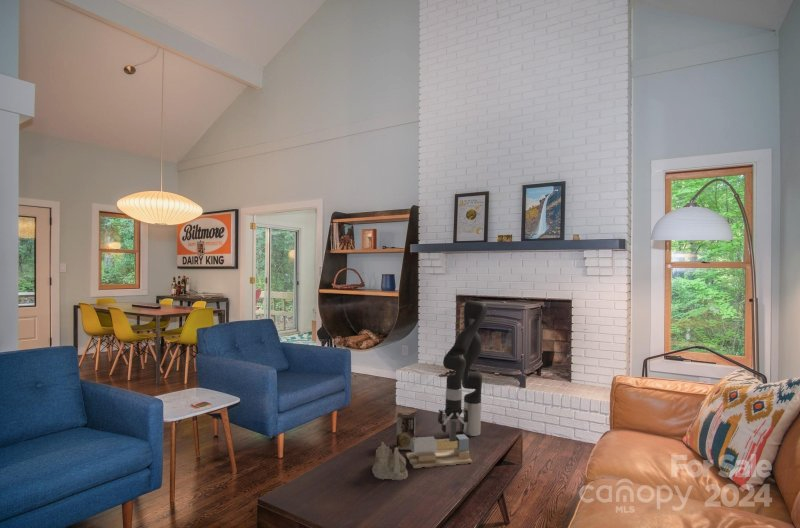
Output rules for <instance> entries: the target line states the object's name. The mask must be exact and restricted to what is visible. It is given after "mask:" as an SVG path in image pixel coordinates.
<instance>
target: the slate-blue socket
mask: <svg viewBox="0 0 800 528" xmlns="http://www.w3.org/2000/svg"><path fill="white" fill-rule="evenodd" d="M456 438H457V439H458V440H459V448H453V449H454V453H455V454H456V455H457V456H458V457H459V459H465V458H470V457H471V456H470V454H471V453H470V451H469V450H470V439H469V437H468V435H466V434H464V433H462V434H456ZM470 459H471V458H470Z"/></svg>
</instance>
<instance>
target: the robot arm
mask: <svg viewBox="0 0 800 528" xmlns="http://www.w3.org/2000/svg"><path fill="white" fill-rule="evenodd" d="M487 313H488V305H487V304H486V303H484V302H481V301H475V300H472V299H471V300H469V299H468V300H466V302H465V303H464V308H463V321H464V324H463V325H464V327H463V328H464V329H463V330H462V331H461V332H460V333H459V334H458V335H457V337H456V339H455V342H454V344H453V345H452V347H451V348H450V349H449V351H448V352H446V354H445V355H444V357H443V359H442V360H443V362H442V363H443V367H444V368H445V369H447V370H452V371H455V373H453V374H448V375H447V376H446V387H445V388H446V389H445V408H444V410H442V409H439V410H438V415H437V422H438V423H439V424H440V425H441V431H442V432H443V433H444V434H446V432H447V431H446V428H447V425H446V424H447V423H448V422H450V420H459V421H460V422H459V431H460V432H463V433H462V434H465V435H466V436H469V437H477V436H480V435H481V427H482V426H481V423H482V420H481V419H482V388H483V387H482V386H483V375H482V372H481V371H470V369H471V367H472V365H473V364H474V363H475V362H476V361H477V359H478V358H479V357H480V356H481V353H482V339H481V336H480V335H479V333H478V331H479V328H480V327H481V325H482V324H483V322H484V321H485V319H486V316H487ZM463 388H464V389H465V390H466V389H467V390H474V391H472V392H470V393H466V394H465V395H464V396H463V395H462V394H463V392H462V389H463ZM462 398H463V399H462ZM462 400H463V403H462ZM462 405H463V408H462ZM461 414H463V417H462V416H461ZM443 416H444V417H443Z"/></svg>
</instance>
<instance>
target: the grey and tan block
mask: <svg viewBox="0 0 800 528" xmlns="http://www.w3.org/2000/svg"><path fill="white" fill-rule="evenodd" d="M436 439H437V438H435V437H434V436H421V437H420V436H419V437H415V438H411V450H410V451H411V452H413V454H414V456H415V458H416V459H417V461H418V463H428V462H436V455H435V453H437V441H436Z"/></svg>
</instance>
